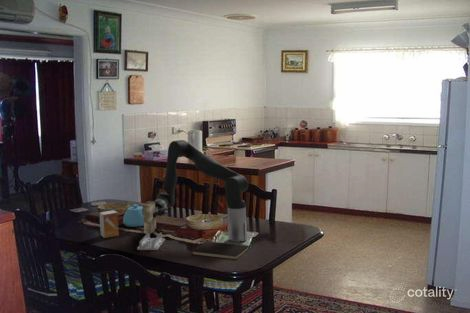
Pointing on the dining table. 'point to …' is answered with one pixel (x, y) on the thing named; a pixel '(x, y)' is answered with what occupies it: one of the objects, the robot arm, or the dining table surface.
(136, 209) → the sugar bowl
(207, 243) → the hardcover book
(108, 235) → the small box
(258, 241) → the dining table surface
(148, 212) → the beige mottled box
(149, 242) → the grey plastic bag
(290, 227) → the dining table surface
